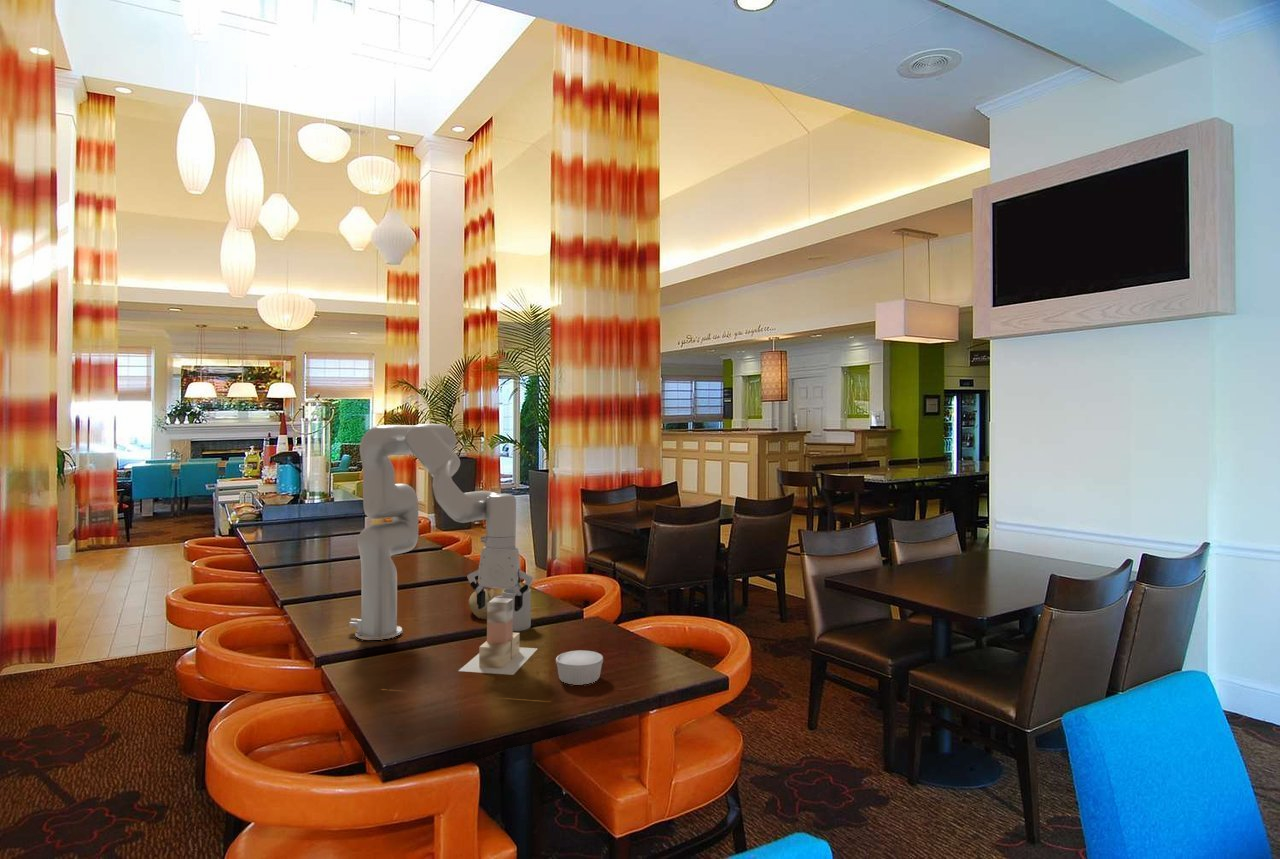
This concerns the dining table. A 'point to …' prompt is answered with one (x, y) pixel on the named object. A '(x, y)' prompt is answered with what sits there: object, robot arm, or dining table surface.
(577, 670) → the ramekin
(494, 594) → the bread roll
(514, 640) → the maple block
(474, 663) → the felt mat
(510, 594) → the mug
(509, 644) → the maple block
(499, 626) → the terracotta cube
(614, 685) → the dining table surface
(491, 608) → the birch cube
